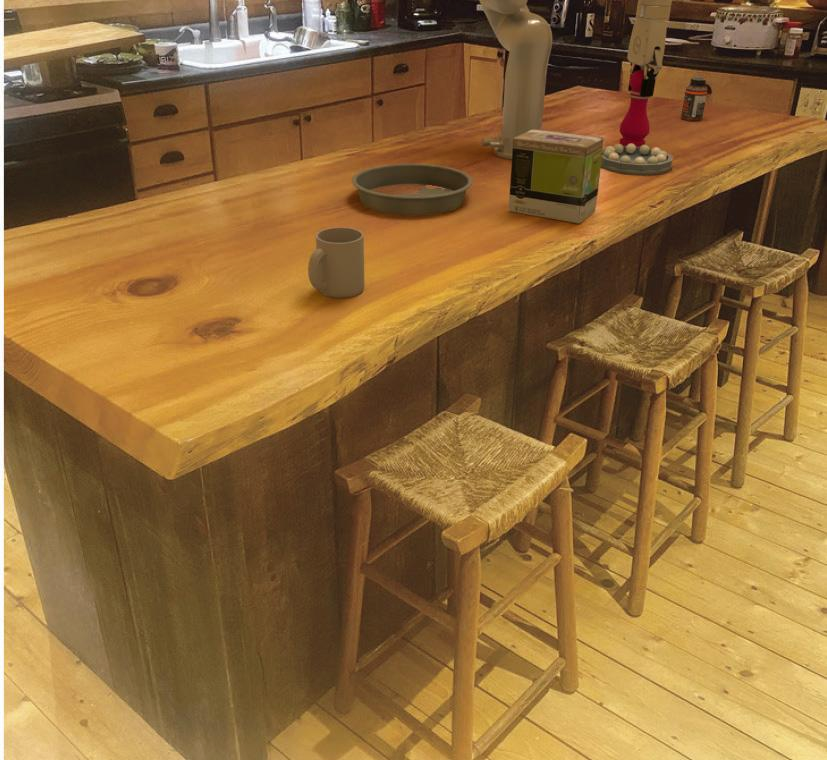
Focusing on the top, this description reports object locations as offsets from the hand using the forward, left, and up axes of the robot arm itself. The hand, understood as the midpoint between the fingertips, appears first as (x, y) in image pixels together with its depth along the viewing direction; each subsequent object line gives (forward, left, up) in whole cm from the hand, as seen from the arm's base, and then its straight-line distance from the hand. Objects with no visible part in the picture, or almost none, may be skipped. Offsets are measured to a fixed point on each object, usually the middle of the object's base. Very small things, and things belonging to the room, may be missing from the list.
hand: (640, 93), depth 202 cm
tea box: (-37, -44, -14) cm, 59 cm away
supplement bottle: (+32, +30, -14) cm, 46 cm away
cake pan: (-62, -31, -14) cm, 71 cm away
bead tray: (-6, -14, -14) cm, 20 cm away
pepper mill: (0, 0, -13) cm, 13 cm away
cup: (-83, -76, -14) cm, 114 cm away
